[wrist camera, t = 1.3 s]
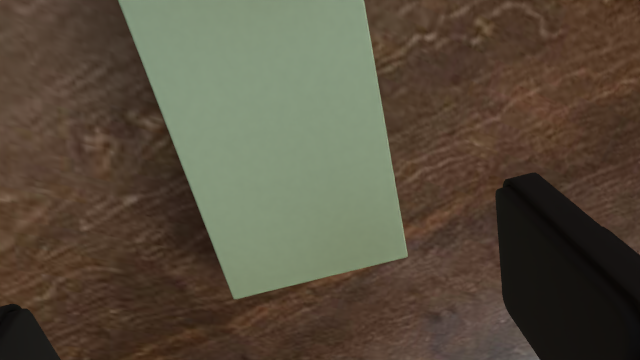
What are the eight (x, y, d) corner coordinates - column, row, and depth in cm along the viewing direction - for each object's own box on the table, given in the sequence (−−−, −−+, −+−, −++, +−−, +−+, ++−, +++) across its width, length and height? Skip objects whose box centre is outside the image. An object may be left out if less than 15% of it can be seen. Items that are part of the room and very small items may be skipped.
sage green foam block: (123, -39, 17) (104, -34, 15) (337, -92, 17) (347, -95, 15) (236, 265, 23) (233, 300, 21) (394, 227, 23) (408, 257, 21)
